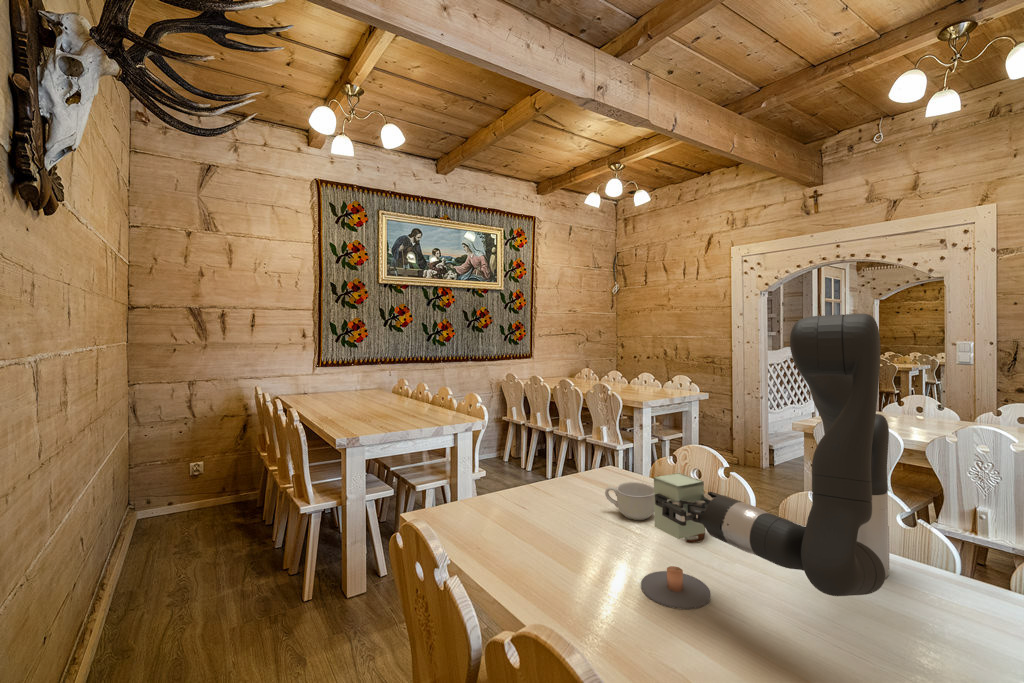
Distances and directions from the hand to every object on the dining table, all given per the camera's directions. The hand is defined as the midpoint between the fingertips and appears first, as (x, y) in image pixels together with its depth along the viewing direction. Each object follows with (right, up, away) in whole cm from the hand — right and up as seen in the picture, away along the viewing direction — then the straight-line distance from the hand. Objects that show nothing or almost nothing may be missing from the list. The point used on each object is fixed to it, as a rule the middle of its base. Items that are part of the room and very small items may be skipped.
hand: (670, 495), depth 95 cm
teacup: (+1, -18, +37) cm, 41 cm away
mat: (0, -18, -2) cm, 18 cm away
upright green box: (+1, -6, -2) cm, 6 cm away
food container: (+14, -18, +23) cm, 32 cm away
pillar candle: (0, -18, -2) cm, 18 cm away
